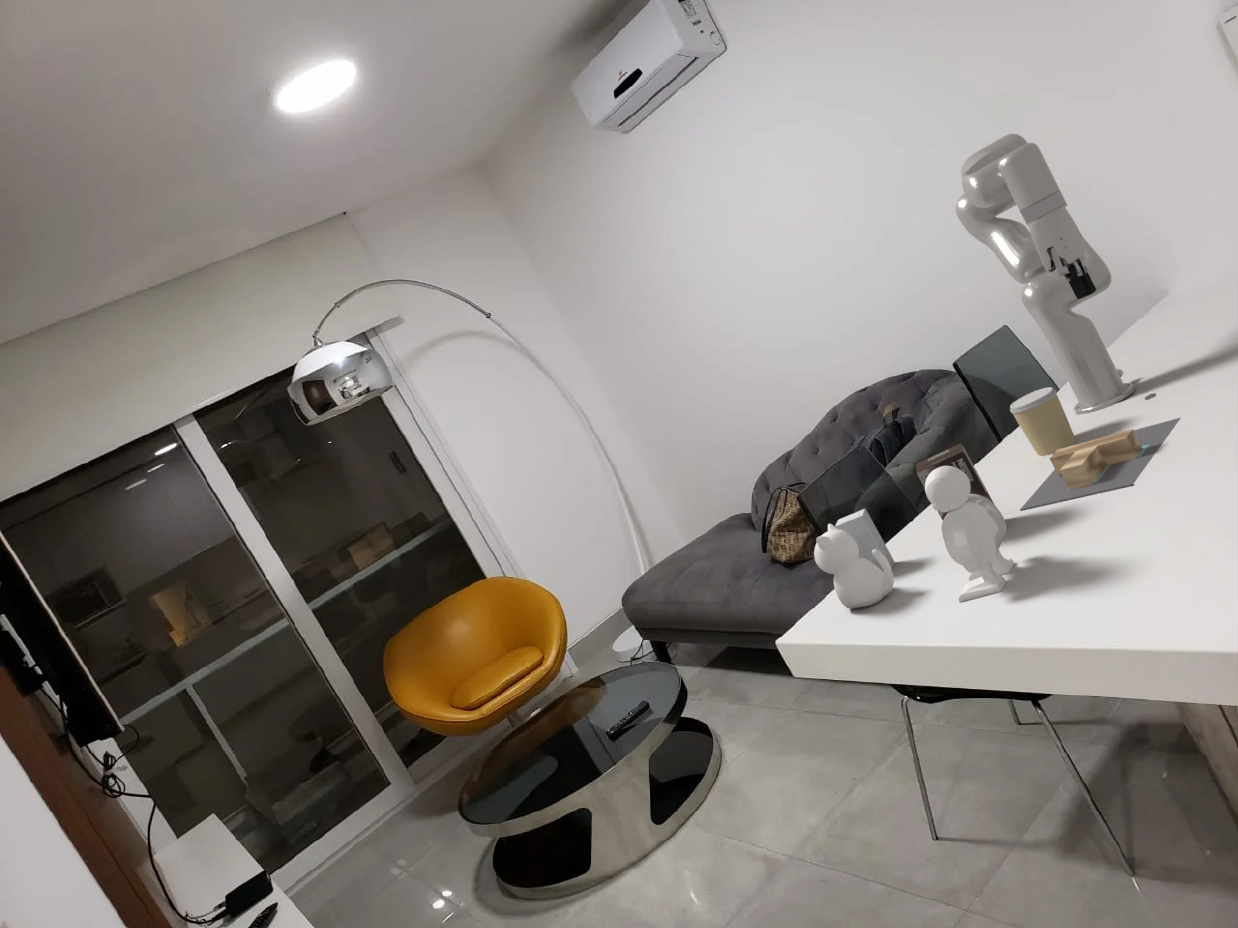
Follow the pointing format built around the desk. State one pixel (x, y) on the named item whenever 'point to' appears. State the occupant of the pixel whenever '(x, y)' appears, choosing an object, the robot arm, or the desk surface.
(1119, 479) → the rubber mat
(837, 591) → the cat figurine
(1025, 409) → the coffee cup
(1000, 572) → the white humanoid figurine
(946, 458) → the coffee box
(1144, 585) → the desk surface
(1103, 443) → the pine T block
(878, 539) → the skincare box
